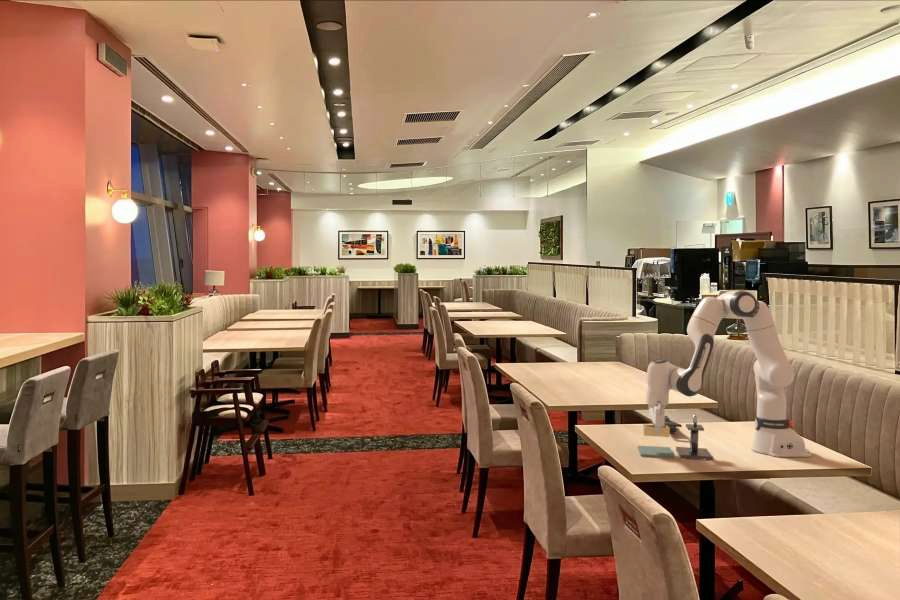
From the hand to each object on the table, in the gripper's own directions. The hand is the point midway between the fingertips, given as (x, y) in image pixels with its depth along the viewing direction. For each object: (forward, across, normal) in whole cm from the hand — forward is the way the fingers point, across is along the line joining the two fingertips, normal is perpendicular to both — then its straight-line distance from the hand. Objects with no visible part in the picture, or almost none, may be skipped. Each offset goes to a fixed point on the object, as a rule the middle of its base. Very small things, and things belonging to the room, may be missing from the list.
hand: (656, 432), depth 280 cm
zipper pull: (+9, +38, -10) cm, 40 cm away
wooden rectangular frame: (+1, 0, 0) cm, 1 cm away
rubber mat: (+8, 0, 0) cm, 9 cm away
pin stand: (+8, 0, -15) cm, 17 cm away
